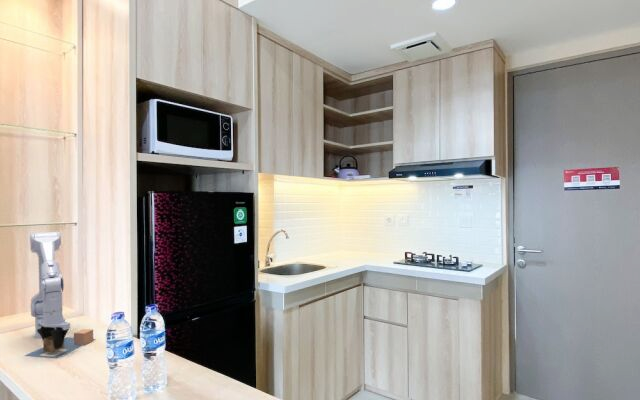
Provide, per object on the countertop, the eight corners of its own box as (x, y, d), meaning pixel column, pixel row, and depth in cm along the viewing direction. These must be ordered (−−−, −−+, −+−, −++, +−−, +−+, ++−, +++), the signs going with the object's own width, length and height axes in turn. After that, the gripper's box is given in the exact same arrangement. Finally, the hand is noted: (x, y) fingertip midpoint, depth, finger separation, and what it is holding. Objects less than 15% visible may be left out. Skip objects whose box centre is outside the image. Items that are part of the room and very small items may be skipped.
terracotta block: (83, 340, 149) (83, 328, 149) (93, 340, 148) (93, 329, 148) (74, 344, 144) (73, 333, 144) (84, 345, 143) (84, 333, 143)
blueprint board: (66, 339, 152) (66, 336, 152) (96, 341, 150) (96, 338, 150) (23, 358, 134) (23, 355, 134) (57, 360, 132) (57, 358, 132)
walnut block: (43, 351, 135) (43, 338, 135) (55, 346, 140) (55, 334, 140) (52, 352, 134) (52, 340, 134) (64, 347, 138) (64, 335, 138)
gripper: (77, 308, 138) (78, 345, 138) (49, 305, 143) (50, 340, 143) (59, 314, 131) (59, 352, 132) (30, 310, 136) (31, 348, 136)
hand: (53, 347), depth 137 cm, fingers closed on walnut block, 4 cm apart
